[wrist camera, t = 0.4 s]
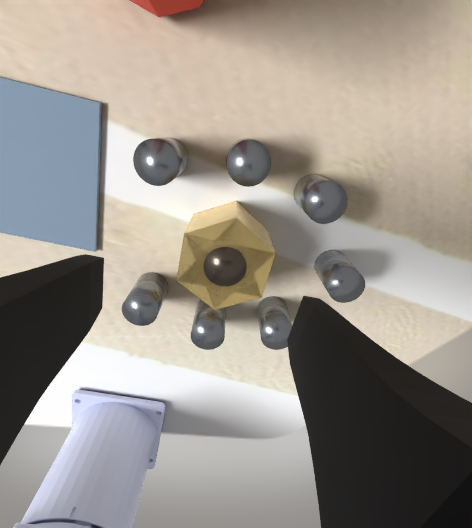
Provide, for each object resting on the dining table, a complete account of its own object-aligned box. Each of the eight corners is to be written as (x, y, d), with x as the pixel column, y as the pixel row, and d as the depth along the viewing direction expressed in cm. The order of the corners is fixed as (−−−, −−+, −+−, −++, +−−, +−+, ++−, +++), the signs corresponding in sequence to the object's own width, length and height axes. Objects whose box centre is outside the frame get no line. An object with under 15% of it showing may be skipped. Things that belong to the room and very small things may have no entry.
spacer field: (313, 339, 23) (325, 370, 20) (135, 307, 21) (119, 334, 18) (385, 173, 18) (416, 181, 15) (154, 114, 16) (137, 110, 13)
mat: (97, 249, 19) (95, 251, 19) (-12, 228, 19) (-16, 229, 18) (101, 103, 16) (99, 102, 15) (-34, 68, 15) (-39, 67, 15)
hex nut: (251, 285, 21) (255, 317, 17) (183, 271, 20) (172, 302, 17) (273, 209, 18) (283, 228, 15) (197, 191, 18) (188, 207, 14)
